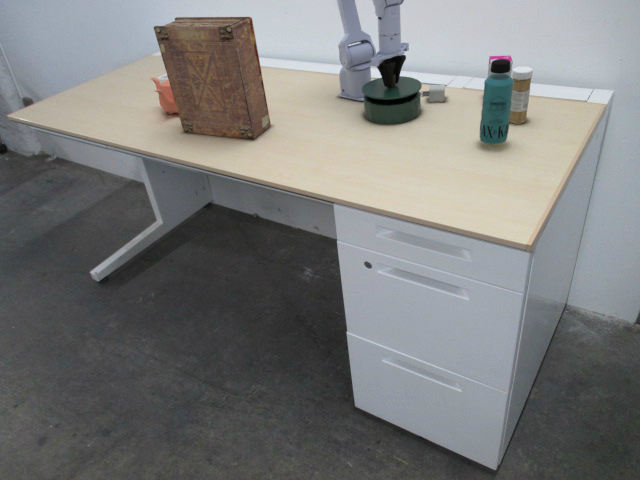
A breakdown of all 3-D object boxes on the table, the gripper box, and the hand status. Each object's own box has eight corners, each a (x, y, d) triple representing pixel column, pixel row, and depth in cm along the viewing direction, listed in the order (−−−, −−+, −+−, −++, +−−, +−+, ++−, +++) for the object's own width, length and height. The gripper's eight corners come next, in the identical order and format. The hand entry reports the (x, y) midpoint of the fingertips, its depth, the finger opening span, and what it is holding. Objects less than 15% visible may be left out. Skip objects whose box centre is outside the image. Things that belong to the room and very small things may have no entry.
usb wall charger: (444, 102, 147) (444, 88, 145) (419, 103, 149) (419, 89, 147) (444, 97, 151) (444, 83, 148) (420, 98, 152) (420, 84, 150)
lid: (399, 105, 132) (398, 88, 130) (349, 95, 142) (348, 79, 139) (433, 84, 141) (433, 68, 139) (384, 76, 151) (384, 61, 148)
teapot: (208, 111, 163) (200, 77, 157) (164, 122, 160) (153, 88, 154) (201, 97, 175) (192, 65, 168) (159, 108, 172) (149, 75, 165)
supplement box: (508, 102, 142) (513, 61, 135) (486, 103, 143) (489, 62, 136) (506, 95, 146) (510, 54, 140) (485, 96, 148) (488, 55, 141)
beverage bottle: (474, 140, 126) (480, 58, 114) (501, 137, 126) (509, 54, 114) (484, 152, 120) (490, 67, 109) (512, 148, 120) (521, 63, 109)
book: (183, 132, 152) (152, 26, 135) (201, 119, 159) (174, 17, 141) (254, 140, 141) (231, 26, 124) (271, 126, 148) (251, 16, 130)
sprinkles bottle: (517, 115, 135) (523, 64, 127) (530, 121, 131) (537, 68, 123) (503, 120, 133) (508, 68, 125) (516, 126, 130) (522, 73, 122)
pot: (399, 128, 137) (398, 109, 133) (354, 118, 146) (352, 99, 143) (430, 108, 145) (430, 89, 142) (386, 99, 154) (385, 81, 151)
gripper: (385, 42, 126) (387, 95, 134) (418, 27, 134) (418, 78, 142) (363, 40, 130) (366, 91, 138) (395, 25, 139) (397, 74, 147)
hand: (391, 84), depth 141 cm, fingers closed on lid, 2 cm apart
